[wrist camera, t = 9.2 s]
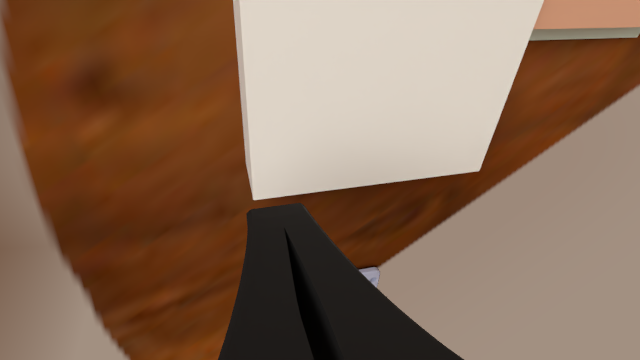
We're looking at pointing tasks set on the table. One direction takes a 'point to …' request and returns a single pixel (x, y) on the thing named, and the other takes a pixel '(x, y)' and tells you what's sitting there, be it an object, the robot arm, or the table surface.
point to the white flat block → (373, 88)
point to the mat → (584, 33)
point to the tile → (588, 14)
